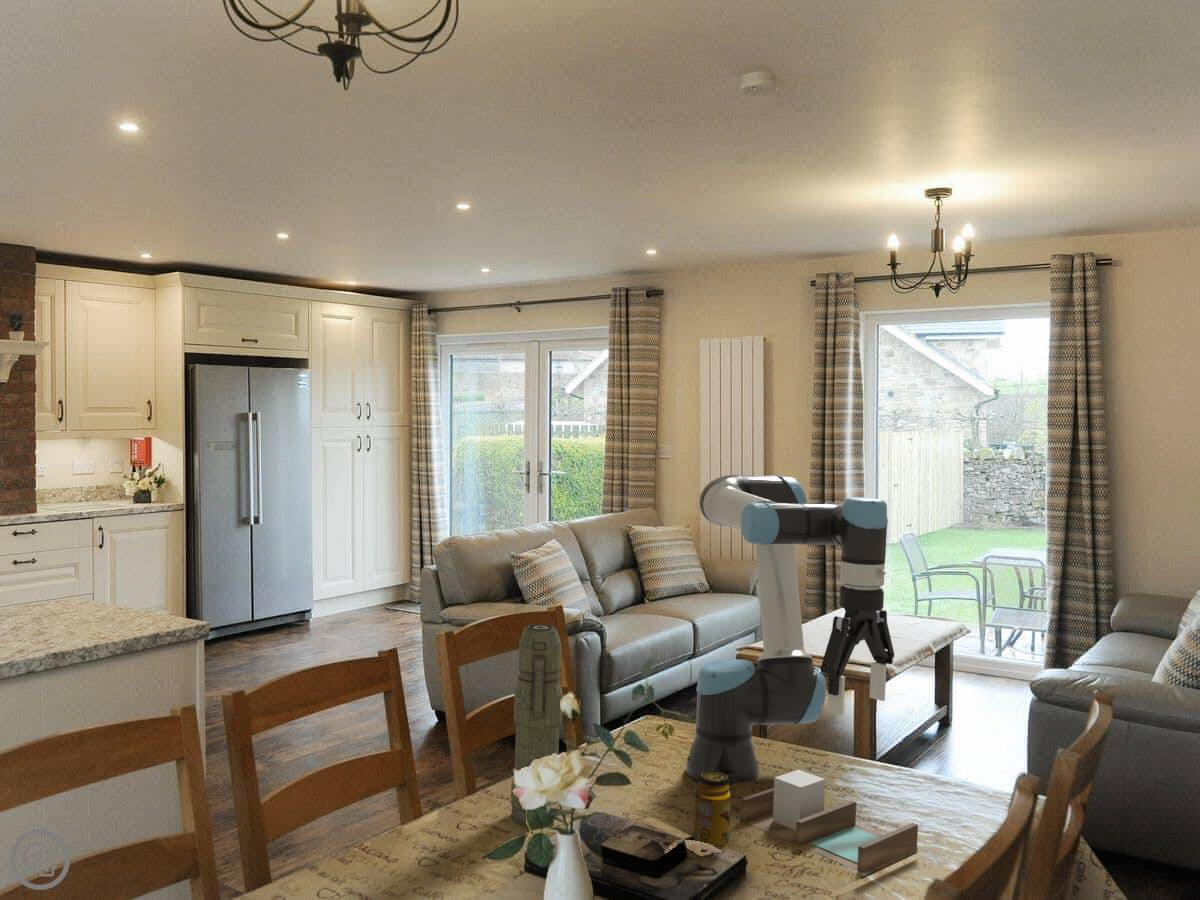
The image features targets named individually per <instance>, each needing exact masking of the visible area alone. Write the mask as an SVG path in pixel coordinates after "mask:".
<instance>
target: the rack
mask: <svg viewBox="0 0 1200 900" xmlns="http://www.w3.org/2000/svg"><path fill="white" fill-rule="evenodd" d="M773 802H774V787H771V788H769V789H765V790H763V791H760V792H757V793H754V794H751V795H748V796H745V797H742V798H741V800H740V804H741V805H740V821H741V822H744V823H746V824H748V825H750V826H752V827H754V828H757V829H760V830H762V831H763V832H767V833H769V834H771V835H773V836H776V837H778V838H781V839H783V840H784V841H788V842H790V843H792V844H794V845H796V846H799V847H801V848H803V849H806V850H807V851H811V852H813V853H815V854H817V855H820V856H822V857H824V858H827V859H829V860H831V861H834V862H836V863H839V864H841V865H843V866H845V867H848V868H849V869H852V870H854V871H856V872H859V873H861V874H864V873H866V872H868V871H870V870H873V869H875V868H877V867H879V866H881V865H883V864H885V863H887V862H890V861H892V860H894V859H896V858H898V857H901V856H903V855H905V854H907V853H909V852H911V851H914V850H916V849H917V848H918V831H919V828H918V827H919V824H917V823H915V822H911V823H908V824H906V825H904V826H901V827H899V828H897V829H895V830H893V831H890V832H888V833H885V834H884V833H881V832H878V831H876V830H873V829H870V828H867V827H866V826H863V825H860V824H857V822H856V821H857V820H856V818H857V801H856V800H852V799H851V800H848V801H846V802H843V803H841V804H838V805H836V806H833V807H830V808H827V809H824V811H822V812H819V813H816V814H814V815H811V816H808V817H806V818H803V819H800V820H798V821H797V822H796V831H795V830H793V829H791V828H788V827H786V826H783V825H781V824H779V823H776V822H774V821H773ZM917 854H918V851H915V852H913V853H910V854H909V855H905V856H904V857H902V858H900V859H898V860H895V861H893V862H891V863H889V864H887V865H884V866H883V867H880V868H878V869H876V870H874V871H872V872H868V874H865V875H862V876H861V877H860V879H861V880H863V879H865V878H867V876H868V877H870V876H871V875H874V874H875V873H877V872H880V871H883V870H884V869H887V868H888V867H891V866H893V865H895V864H897V863H900V862H903V860H906V859H908V858H910V857H912V856H914V855H917Z"/></svg>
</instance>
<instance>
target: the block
mask: <svg viewBox="0 0 1200 900" xmlns="http://www.w3.org/2000/svg"><path fill="white" fill-rule="evenodd" d="M825 784H826V778H823V777H820V776H817V775H815V774H812V773H809V772H806V771H804V770H800V769H796V770H793V771H790V772H788V773H783V774H781V775H777V776H774V778H773V788H774V802H773V821H774V822H776V823H779V824H781V825H783V826H786V827H788V828H791V829H793V830H795V831H796V822H797V821H798V820H800V819H803V818H806V817H808V816H811V815H814V814H816V813H819V812H822V811H824V810H825V792H826V791H825V789H826V785H825Z"/></svg>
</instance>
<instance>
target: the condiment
mask: <svg viewBox="0 0 1200 900" xmlns="http://www.w3.org/2000/svg"><path fill="white" fill-rule="evenodd" d="M698 779H699V782H698V784H697V789H696V791H695V799H694V800H695V803H694V825H693V826H694V829H693V830H694V831H693V832H694V833H693V834H694V835H690V836H688V837H685V838H683V839H685V840H695V841H700V842H704V843H708V844H711V845H715V847H718V846H719V847H721V846H724V845H726V844H728V843H729V841H730V840H729V839H730V822H731V821H730V818H731V817H730V816H731V801H732V800H731V798H732V797H731V792H730V785H729V778H728V776H726V775H725V774H723V773H720V772H712V771H710V772H703V773H701V774H700V775H699V778H698Z"/></svg>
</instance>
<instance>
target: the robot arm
mask: <svg viewBox="0 0 1200 900" xmlns="http://www.w3.org/2000/svg"><path fill="white" fill-rule="evenodd" d="M698 504H699V510H700V511H701V514H702V516H703V517H704V518H705V519H706V520H707V521H708V522H709V523H711V524H713V525H715V526H719V527H732V528H735V529H737V530H739V531H741V534H742V536H743V539H744V540H745V541H746V542H747V543H749V544H754V545H755V546H754V549H755V560H756V561H755V562H756V571H757V572H756V574H757V583H758V597H759V606H760V607H759V610H760V611H759V612H760V619H761V621H760V622H761V634H762V635H761V637H762V647H763V652H762V654H761V655H760V656H759V657H758V659H757V667H756V666H755V664H754V663H753V662H752V661H751V660H748V659H747V660H746V659H742V658H741V659H736V658H729V659H728V658H727V659H726V658H725V659H719V660H714V661H712V662H708V663H706V664H705V665H702V667H701V668H700V669H699V671H698V677H697V685H696V690H695V691H696V692H697V693H696V714H695V715H696V718H695V721H696V722H695V725H696V726H695V729H696V730H695V737H694V740H693V742H692V746H691V749H690V751H689V754H688V755H689V756H688V757H687V759H686V765H685V766H686V768H685V770H686V771H685V772H686V775H687V776H688V777H689V778H691V779H692V780H695V781H696V782H698V783H699V779H698V778H699V775H700V774H701V773H703V772H710V771H712V772H720V773H723V774H725V775H726V776H728V778H729V786H731V785H733V784H738V783H739V784H740V783H746V782H747V783H748V782H750V781H752V780H755V779H756V778H758V777H759V776H760V765H759V762H758V761H757V756H756V751H755V749H754V748H755V747H754V743H753V726H755V725H760V726H761V725H762V726H763V725H767V726H768V725H793V726H797V725H799V724H800V725H801V724H810V723H811V724H812V723H814V722H815V721H817V720H818V718H819V717H820V716H821V713H822V711H823V709H824V706H825V701H826V697H827V710H826V712H828V713H831V714H836V715H839V716H843V715H844V708H845V682H846V676H843V673H844V672H845V669H846V667H847V665H848V662H849V660H850V658H851V656H852V653H853V652H854V649H855V647H856V646H857V645H859V644H860V642H861V641H864V642H865V644H866V646H867V648H868V650H869V652H870V654H871V656H872V659H873V661H871V662H870V673H869V674H870V675H869V699H872V700H877V701H881V702H885V701H886V683H887V682H886V681H887V665H892V664H893V661H894V657H895V651H894V646H893V642H892V638H891V635H890V634H891V633H890V630H889V629H890V628H889V625H888V612H887V610H886V609H883V608H884V601H885V598H884V597H885V594H884V593H885V590H884V589H883V588H882V587H883V586H884V585H885V576H886V573H887V572H886V570H885V569H886V554H887V553H886V552H887V536H888V535H887V534H888V524H889V520H888V505H887V502H886V501H884V500H883V499H881V498H873V497H858V496H857V497H856V496H855V497H854V496H853V497H847V498H845V500H844V502H843V503H842V502H826V503H808V499H807V496H806V492H805V489H804V488H803V486H802V484H801V483H800V482H799V481H798V480H797V479H796V478H794V477H791V476H782V475H777V474H775V475H749V474H747V475H745V474H744V475H740V474H730V475H724V476H723V475H722V476H720V477H718V478H715V479H714V480H711V481H710V482H709V483H708V484H706V486H705V487H704V488H703V490H702V491H701V493H700V496H699V501H698ZM795 545H811V546H813V545H817V546H819V545H821V546H826V545H827V546H840V547H841V556H840V573H839V582H840V583H841V584H842V585H841V586H840V587H839V596H838V597H839V598H838V602H839V603H838V604H839V606H840V608H843V610H844V611H845V612H844V615H843V617H841V616H837V615H836V616H834V617H833V618H832V619H833V620H832V628H831V632H830V635H829V638H828V641H827V645H826V649H825V652H824V656H823V658H822V662H821V666H820V667H818V666H817V665H816V666H815V665H814V663H813V662H814V661H813V657H812V655H810V654H809V653H808V652H807V651H806V650H805V647H804V646H805V645H804V633H803V622H802V613H801V611H802V610H801V602H800V592H799V580H798V571H797V560H796V547H795ZM824 674H825V675H827V678H828V679H827V683H826V677H825V676H824ZM826 684H827V686H826ZM826 692H827V695H826Z"/></svg>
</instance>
